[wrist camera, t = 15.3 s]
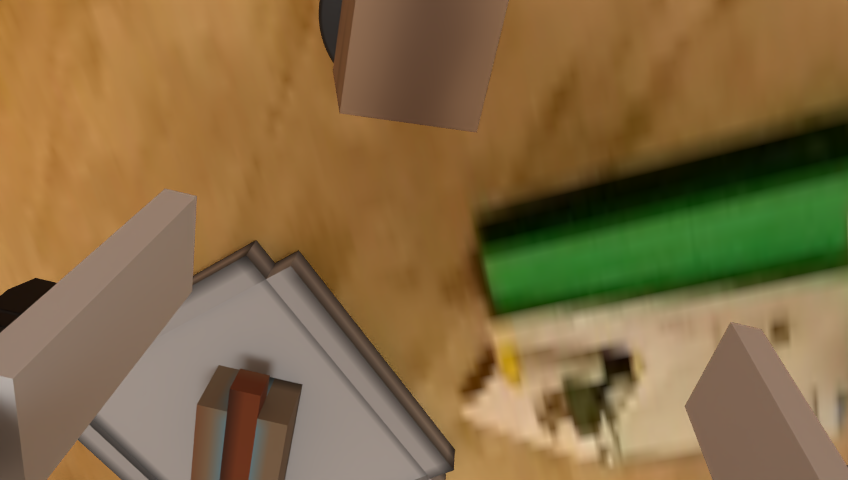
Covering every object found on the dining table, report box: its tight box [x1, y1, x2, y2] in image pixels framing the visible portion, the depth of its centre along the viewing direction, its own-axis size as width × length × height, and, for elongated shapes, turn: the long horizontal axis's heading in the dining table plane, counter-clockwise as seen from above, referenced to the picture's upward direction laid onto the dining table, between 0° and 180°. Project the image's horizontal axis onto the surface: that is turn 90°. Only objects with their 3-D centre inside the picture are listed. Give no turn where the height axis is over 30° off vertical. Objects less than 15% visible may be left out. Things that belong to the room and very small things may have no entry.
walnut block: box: [333, 0, 509, 132], centre depth 29 cm, size 6×6×7 cm
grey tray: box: [78, 241, 455, 480], centre depth 59 cm, size 30×30×8 cm
